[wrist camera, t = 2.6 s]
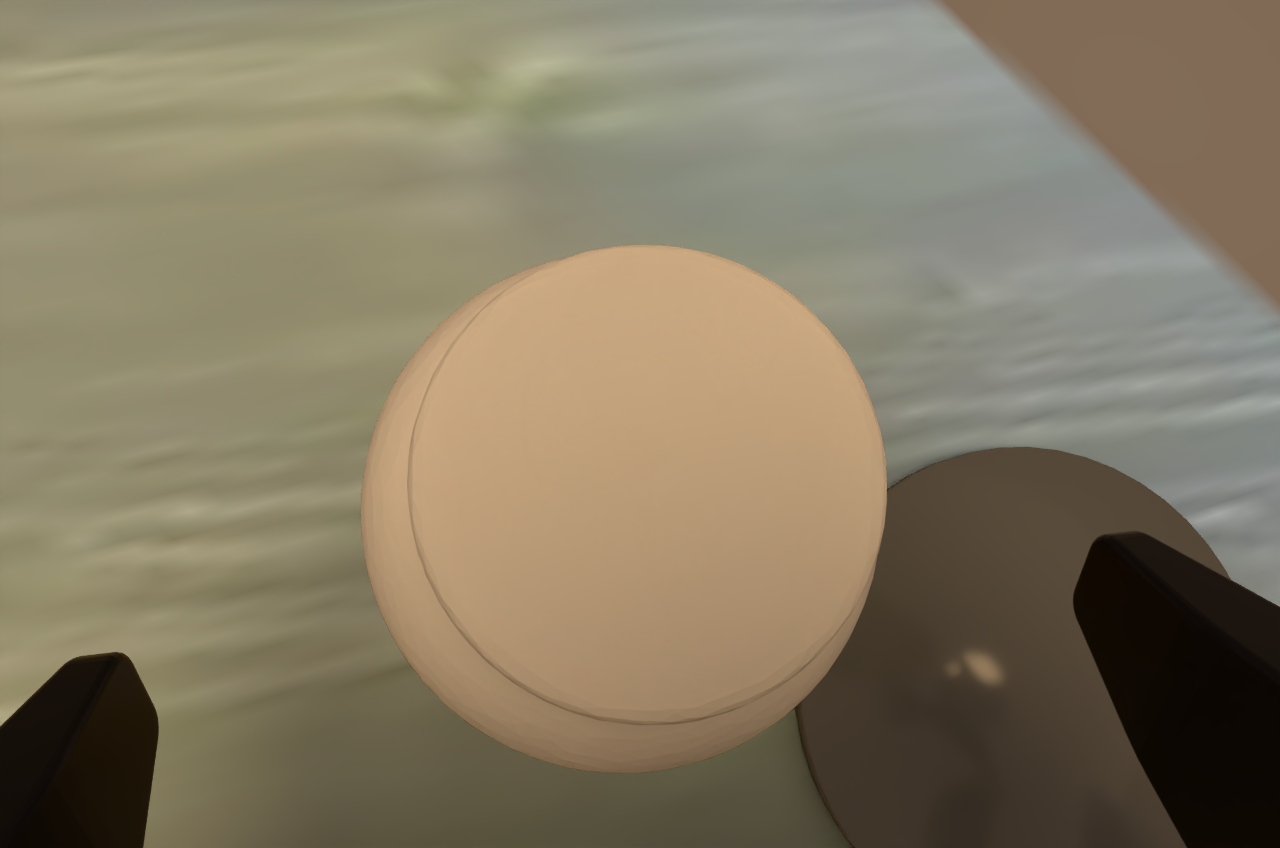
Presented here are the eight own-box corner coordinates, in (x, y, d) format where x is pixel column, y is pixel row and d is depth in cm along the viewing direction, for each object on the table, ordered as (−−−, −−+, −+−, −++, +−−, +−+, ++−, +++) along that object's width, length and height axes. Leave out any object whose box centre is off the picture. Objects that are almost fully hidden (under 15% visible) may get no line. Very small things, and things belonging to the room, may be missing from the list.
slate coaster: (1315, 604, 19) (1336, 605, 18) (1126, 1036, 17) (1143, 1049, 16) (933, 366, 19) (943, 360, 18) (704, 772, 17) (709, 777, 16)
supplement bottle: (789, 603, 18) (1109, 631, 8) (521, 747, 17) (488, 991, 7) (656, 344, 18) (791, 54, 8) (390, 469, 17) (178, 314, 7)
